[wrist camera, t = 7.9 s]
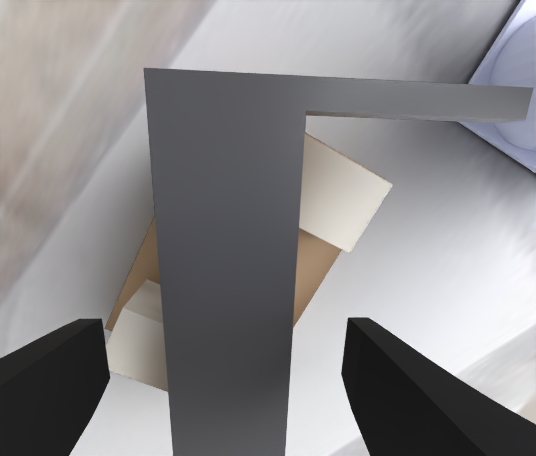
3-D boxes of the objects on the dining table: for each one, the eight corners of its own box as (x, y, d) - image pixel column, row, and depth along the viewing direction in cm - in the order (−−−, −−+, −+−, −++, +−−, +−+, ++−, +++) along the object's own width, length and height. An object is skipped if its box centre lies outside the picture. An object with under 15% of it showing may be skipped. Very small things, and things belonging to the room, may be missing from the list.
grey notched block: (435, 110, 11) (534, 87, 7) (384, 407, 15) (430, 496, 11) (183, 99, 10) (143, 67, 7) (197, 412, 14) (177, 508, 10)
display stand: (370, 176, 17) (458, 192, 10) (256, 364, 20) (258, 483, 13) (219, 89, 15) (190, 29, 8) (120, 309, 18) (33, 411, 11)
